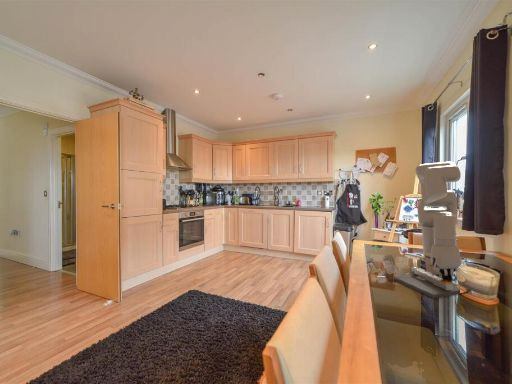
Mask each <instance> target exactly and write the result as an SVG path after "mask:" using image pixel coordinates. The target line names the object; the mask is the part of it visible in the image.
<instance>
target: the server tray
mask: <svg viewBox="0 0 512 384" xmlns="http://www.w3.org/2000/svg"><path fill="white" fill-rule="evenodd" d="M393 281H396V282H398V283H400V284H402V285H404V286H406V287H408V288H411V289H413V290H415V291H417V292H419V293H422V294H424V295H426V296H428V297H430V298H432V299H440V298H443V297H449V296H450V297H451V296H454V295H460V294H459V293H460V289H459V288H458V287H457V285H458V284H456V283H454V282H453V287H454V290H445V289H443V288H441V287H439V286H437V285H436V284H434V283H432V282H430V281H428V280H426V279H424V278H422V277H420V276H418V275H416V274H414V273H412V272H411V273H408V274H407V273H406V274H401V275H395V276H393Z"/></svg>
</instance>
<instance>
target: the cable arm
mask: <svg viewBox="0 0 512 384" xmlns="http://www.w3.org/2000/svg"><path fill="white" fill-rule="evenodd" d="M410 268H411V271H410V272H411V274H412V273H414V274H416V275H418V276H420V277H422V278H424V279H426V280H428V281H430V282H432V283H434V284H436V285H437V286H439V287H441V288H443V289H445V290H454V287H453V283H454V282H453V280H452V281H449V280H444V279H442V277H439V275H436V274H431V273H429V272H427V271H426V269H423V268H422V267H421V268H420V267H419V266H417V265H416V266H415V265H414V266H413V265H412V266H411V267H410Z"/></svg>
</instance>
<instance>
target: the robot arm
mask: <svg viewBox="0 0 512 384" xmlns="http://www.w3.org/2000/svg"><path fill="white" fill-rule="evenodd" d="M415 175H416V177H417V179H418V181H419V182H420V187H421V188H420V190H421V191H420V193H421V199H420V201H419V202H418V204H417V219H418V224H419V225H420V226H421V232H422V234H421V236H422V251H423V252H422V253H423V256H421V257H425V254H426V253H430V252H431V265H432V266H434V267H433V270H435V271H439V272H440V273H441V274H442V275H441V278H442V279H444V280H449V281H452V282H453V276H454V273H455V272H457V271H458V270H457V268H458V267H459V266H460V265H461V266H462V259H461V253H460V250H459V246H458V245H457V243H458V242H459V239H458V238H457V231H456V225H457V224H458V199H457V195H456V193H455V192H454V191H453V190H448V187H447V183H456V182H459V180H460V179H461V175H462V174H461V169H460V168H459V166H458V165H457V164H456V163H455V162H452V161H445V162H444V161H442V162H432V163H423V164H419V165H417V166H416V167H415ZM425 207H427V208H425ZM437 207H438V208H437ZM420 261H422V262H425V263H426V261H425V259H420Z"/></svg>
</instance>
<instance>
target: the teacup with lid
mask: <svg viewBox="0 0 512 384" xmlns="http://www.w3.org/2000/svg"><path fill="white" fill-rule="evenodd" d="M421 259H425V261H426V262H425V264H423V263H421ZM417 261H418V263H419V265H420V266H421V267H423V268H424V267H425V271H427V272H429V273H431V274H433V275H436V276H442V274H441V273H440V272H439V271H435V270H433V267H434V266H432V265H431V252H430V253H426V254H425V257H422V256H420V257H419V258H418V260H417Z"/></svg>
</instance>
